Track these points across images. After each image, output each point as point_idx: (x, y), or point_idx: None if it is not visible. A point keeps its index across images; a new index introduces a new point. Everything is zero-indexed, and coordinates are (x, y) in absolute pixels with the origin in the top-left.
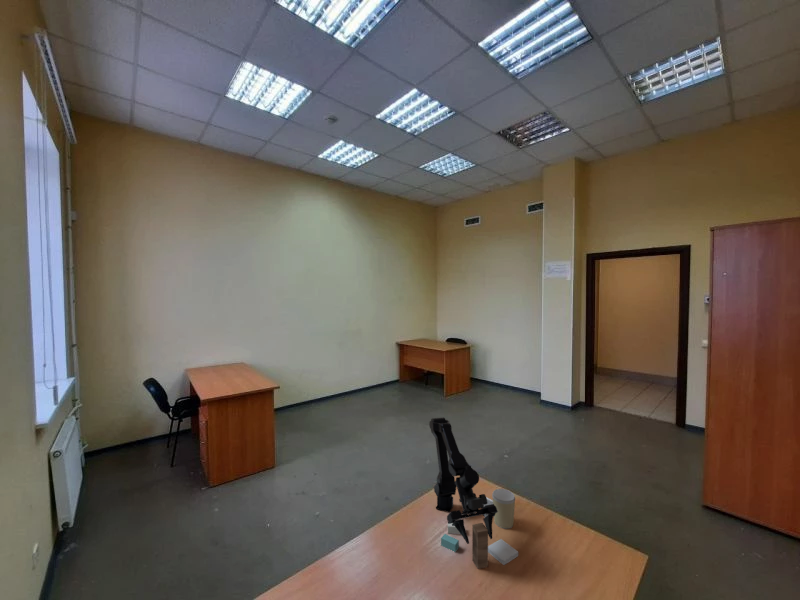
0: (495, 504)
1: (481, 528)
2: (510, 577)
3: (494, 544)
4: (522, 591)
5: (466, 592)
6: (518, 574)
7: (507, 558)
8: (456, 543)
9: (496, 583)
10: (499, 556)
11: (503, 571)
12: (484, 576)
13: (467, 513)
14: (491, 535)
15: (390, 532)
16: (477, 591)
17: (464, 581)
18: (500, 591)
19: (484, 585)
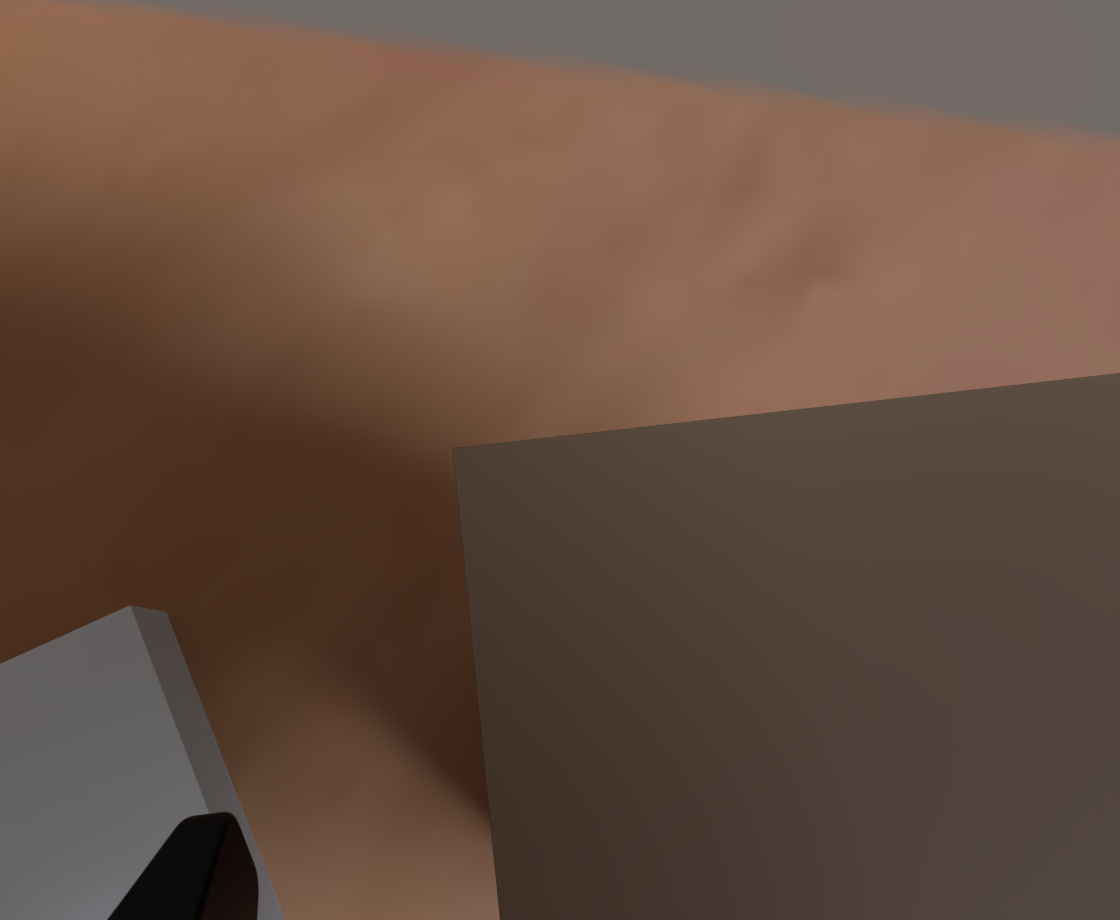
0: None
1: (921, 705)
2: (195, 321)
3: None
4: (149, 43)
5: (1093, 154)
6: (4, 362)
7: (4, 667)
8: None
9: (515, 241)
10: (160, 753)
11: (255, 467)
12: (674, 409)
13: None
14: (166, 887)
15: None
16: (903, 145)
17: (1079, 358)
18: (517, 93)
19: (744, 233)
